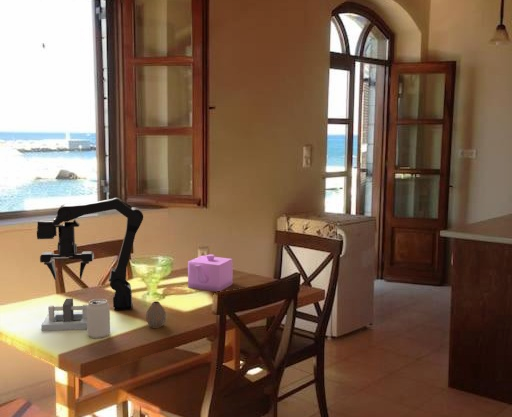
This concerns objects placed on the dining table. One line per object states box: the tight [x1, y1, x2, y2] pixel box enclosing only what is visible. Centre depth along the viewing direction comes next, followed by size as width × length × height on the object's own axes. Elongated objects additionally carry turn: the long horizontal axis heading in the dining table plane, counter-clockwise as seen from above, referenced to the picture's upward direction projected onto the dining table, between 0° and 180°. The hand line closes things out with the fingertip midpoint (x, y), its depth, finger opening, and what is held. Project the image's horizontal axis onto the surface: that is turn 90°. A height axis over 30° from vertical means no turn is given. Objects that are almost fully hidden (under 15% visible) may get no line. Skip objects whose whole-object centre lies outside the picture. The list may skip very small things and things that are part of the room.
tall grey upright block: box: [62, 298, 74, 322], centre depth 215 cm, size 2×7×8 cm, turn 8°
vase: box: [145, 301, 167, 329], centre depth 214 cm, size 7×7×9 cm
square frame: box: [41, 304, 88, 332], centre depth 215 cm, size 16×13×6 cm
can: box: [86, 298, 111, 339], centre depth 204 cm, size 8×8×12 cm
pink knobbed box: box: [187, 254, 234, 292], centre depth 264 cm, size 15×25×14 cm, turn 156°
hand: (68, 279), depth 227 cm, fingers open, 9 cm apart
